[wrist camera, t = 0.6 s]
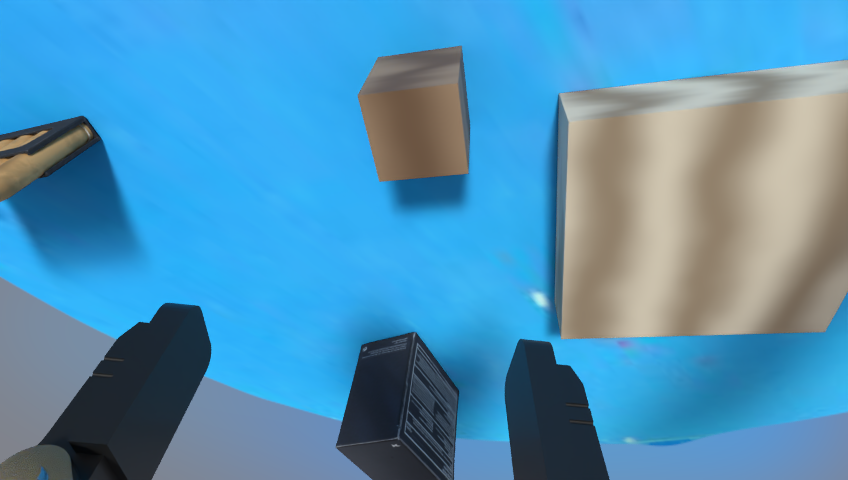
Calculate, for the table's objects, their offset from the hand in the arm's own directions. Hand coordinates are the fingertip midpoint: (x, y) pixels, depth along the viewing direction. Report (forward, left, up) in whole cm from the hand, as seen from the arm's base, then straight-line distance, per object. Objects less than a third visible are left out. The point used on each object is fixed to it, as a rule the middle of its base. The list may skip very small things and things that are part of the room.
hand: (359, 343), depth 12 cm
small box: (+6, +29, -21) cm, 37 cm away
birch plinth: (-17, +11, -21) cm, 29 cm away
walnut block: (0, +1, -21) cm, 21 cm away
